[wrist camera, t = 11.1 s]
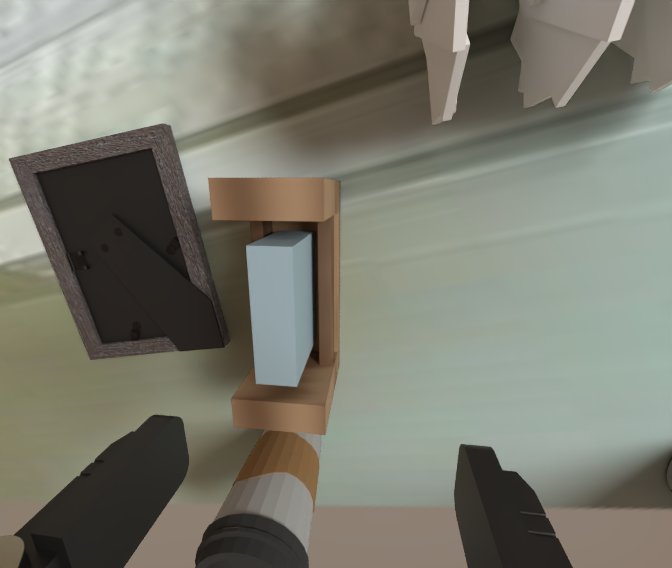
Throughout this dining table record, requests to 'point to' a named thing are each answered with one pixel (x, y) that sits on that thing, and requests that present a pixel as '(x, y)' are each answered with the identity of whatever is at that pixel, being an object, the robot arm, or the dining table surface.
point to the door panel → (282, 304)
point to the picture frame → (125, 243)
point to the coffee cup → (267, 507)
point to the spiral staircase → (548, 45)
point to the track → (323, 362)
